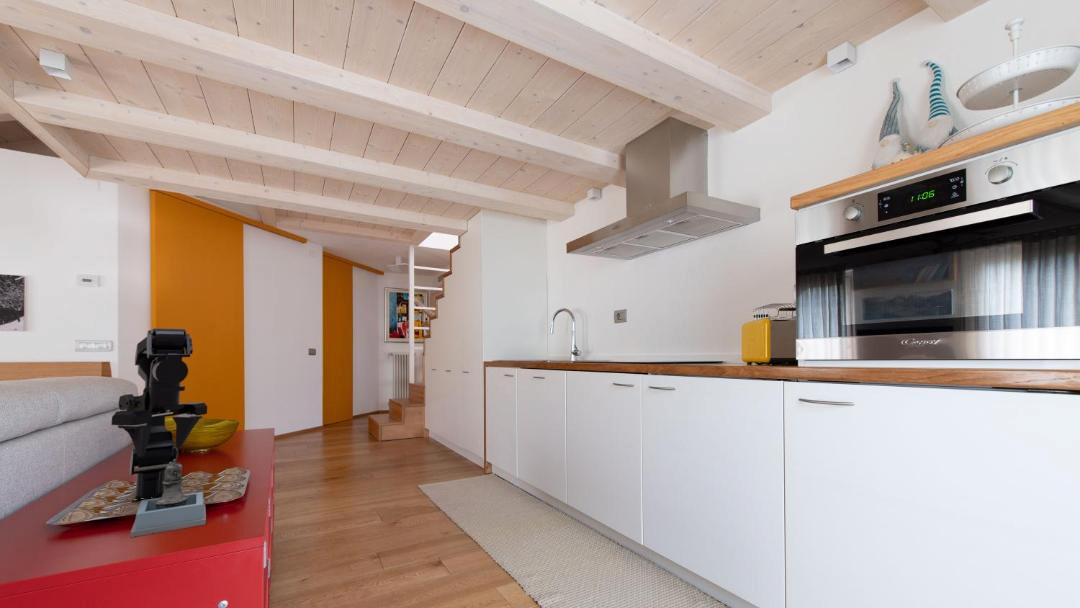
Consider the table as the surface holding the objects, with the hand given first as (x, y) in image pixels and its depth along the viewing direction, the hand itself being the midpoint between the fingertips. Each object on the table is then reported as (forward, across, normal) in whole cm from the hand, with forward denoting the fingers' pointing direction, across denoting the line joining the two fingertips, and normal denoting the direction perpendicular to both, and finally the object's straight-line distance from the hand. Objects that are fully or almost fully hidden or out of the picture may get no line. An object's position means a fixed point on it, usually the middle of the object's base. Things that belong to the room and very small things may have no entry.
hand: (160, 451), depth 110 cm
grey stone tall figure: (+12, +6, +10) cm, 17 cm away
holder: (+13, +6, +10) cm, 17 cm away
